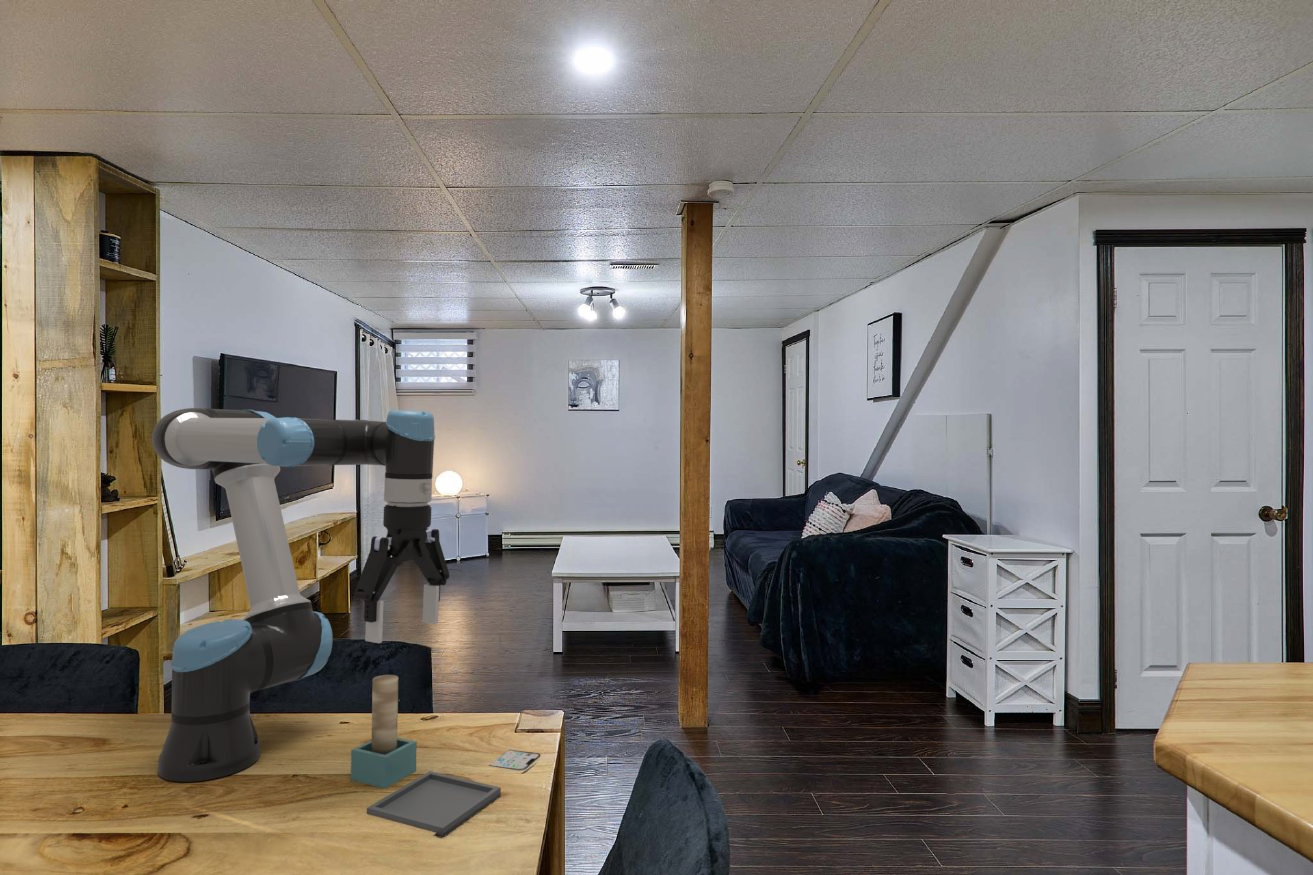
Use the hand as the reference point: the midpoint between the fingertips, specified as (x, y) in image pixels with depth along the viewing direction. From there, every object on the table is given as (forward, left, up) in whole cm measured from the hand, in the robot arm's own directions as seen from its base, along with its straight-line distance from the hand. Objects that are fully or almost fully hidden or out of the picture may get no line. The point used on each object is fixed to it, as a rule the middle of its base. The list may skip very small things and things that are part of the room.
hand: (403, 631), depth 127 cm
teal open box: (-3, -1, -24) cm, 25 cm away
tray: (+11, -5, -24) cm, 27 cm away
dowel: (-3, -1, -24) cm, 24 cm away
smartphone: (+9, +13, -25) cm, 30 cm away
